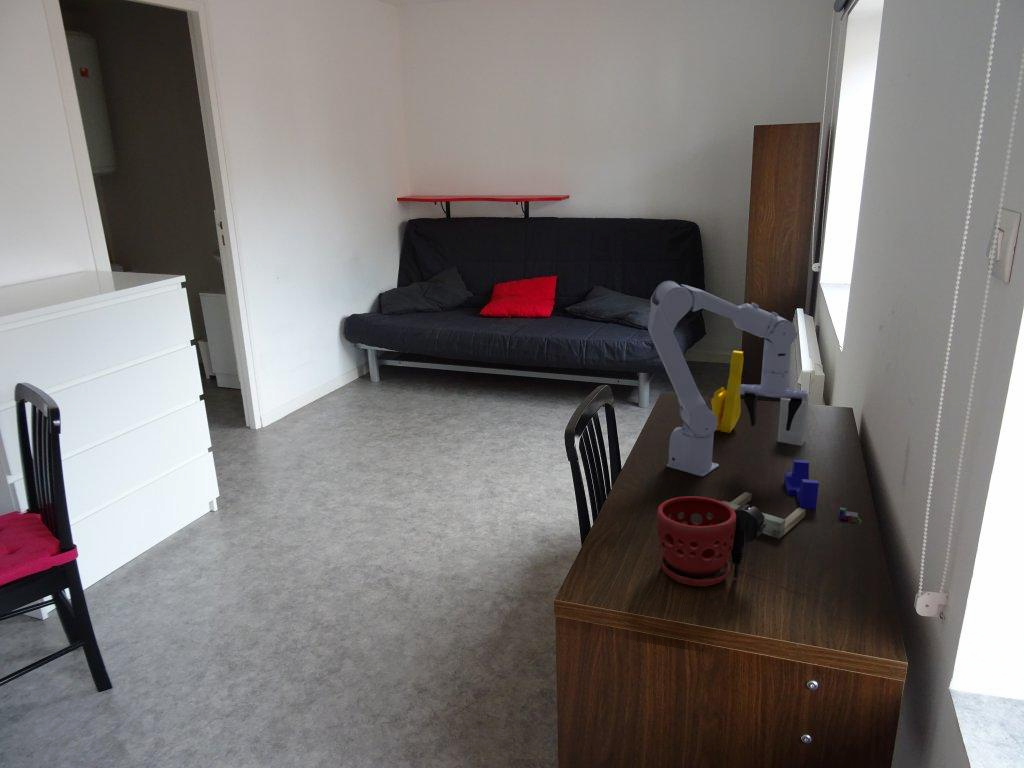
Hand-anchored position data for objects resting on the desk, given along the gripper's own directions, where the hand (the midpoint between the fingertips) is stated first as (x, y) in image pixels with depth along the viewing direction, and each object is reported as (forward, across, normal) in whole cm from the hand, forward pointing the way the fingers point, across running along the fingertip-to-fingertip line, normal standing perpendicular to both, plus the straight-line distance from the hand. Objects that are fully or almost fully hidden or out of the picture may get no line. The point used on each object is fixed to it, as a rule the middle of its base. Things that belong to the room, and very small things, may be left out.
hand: (770, 426), depth 165 cm
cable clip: (+10, +9, -13) cm, 19 cm away
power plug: (+10, +4, -48) cm, 50 cm away
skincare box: (+10, +3, +18) cm, 21 cm away
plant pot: (+10, -4, -53) cm, 54 cm away
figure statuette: (+10, -14, +20) cm, 27 cm away
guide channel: (+10, +3, -27) cm, 29 cm away
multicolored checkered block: (+11, +19, -20) cm, 29 cm away
